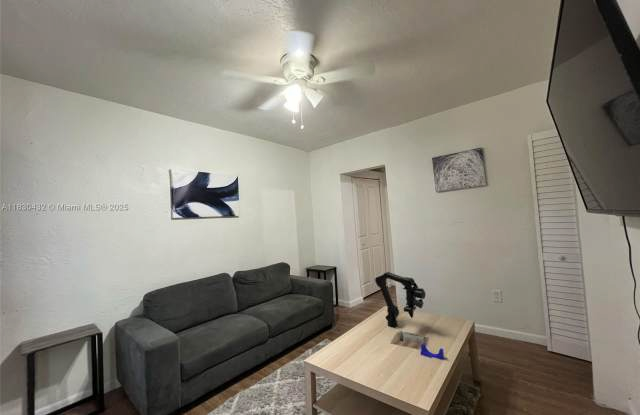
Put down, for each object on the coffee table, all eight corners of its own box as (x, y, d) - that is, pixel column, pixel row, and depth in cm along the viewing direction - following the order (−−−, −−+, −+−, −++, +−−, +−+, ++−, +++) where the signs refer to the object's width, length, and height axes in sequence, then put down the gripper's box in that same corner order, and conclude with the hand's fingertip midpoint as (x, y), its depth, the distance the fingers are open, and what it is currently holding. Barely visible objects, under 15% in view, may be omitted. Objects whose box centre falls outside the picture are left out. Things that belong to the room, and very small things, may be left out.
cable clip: (420, 356, 155) (420, 346, 155) (423, 353, 158) (422, 343, 159) (441, 362, 147) (441, 352, 147) (444, 359, 150) (443, 349, 151)
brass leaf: (403, 339, 174) (403, 332, 174) (403, 339, 175) (403, 331, 175) (423, 343, 167) (423, 335, 167) (424, 342, 168) (423, 335, 168)
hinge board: (390, 344, 171) (389, 343, 171) (397, 333, 186) (397, 332, 186) (424, 351, 159) (424, 350, 159) (429, 338, 175) (429, 337, 175)
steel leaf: (399, 340, 173) (399, 331, 174) (400, 339, 175) (399, 330, 175) (423, 345, 165) (422, 336, 166) (423, 344, 167) (423, 334, 167)
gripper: (419, 301, 173) (421, 324, 173) (424, 293, 189) (426, 314, 188) (402, 299, 179) (404, 321, 179) (409, 291, 195) (410, 312, 194)
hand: (412, 317), depth 185 cm, fingers closed
